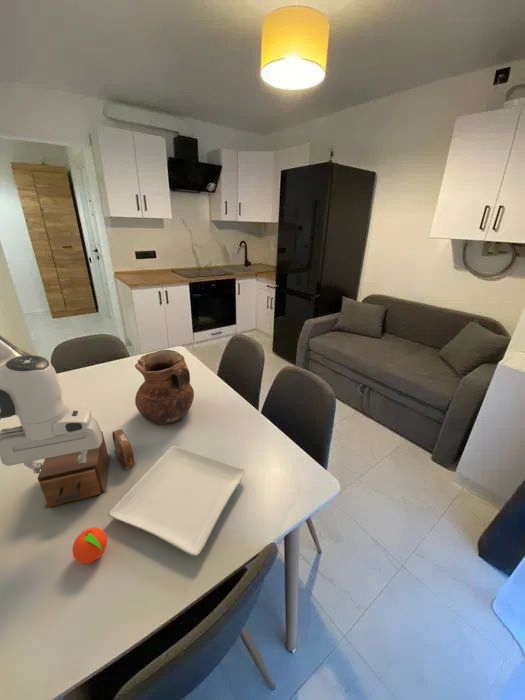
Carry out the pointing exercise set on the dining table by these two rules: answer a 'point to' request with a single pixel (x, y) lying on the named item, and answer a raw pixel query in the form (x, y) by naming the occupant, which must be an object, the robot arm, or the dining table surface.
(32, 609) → the dining table surface
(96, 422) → the robot arm
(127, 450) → the tin
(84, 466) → the cabinet
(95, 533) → the clementine
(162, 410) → the jug
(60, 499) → the drawer
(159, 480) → the square plate
